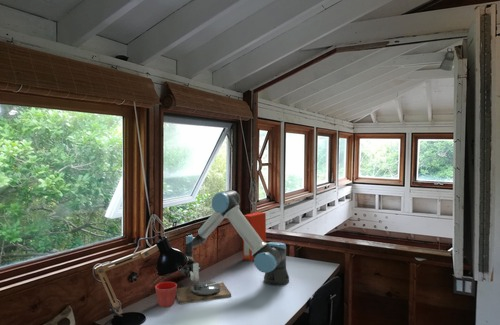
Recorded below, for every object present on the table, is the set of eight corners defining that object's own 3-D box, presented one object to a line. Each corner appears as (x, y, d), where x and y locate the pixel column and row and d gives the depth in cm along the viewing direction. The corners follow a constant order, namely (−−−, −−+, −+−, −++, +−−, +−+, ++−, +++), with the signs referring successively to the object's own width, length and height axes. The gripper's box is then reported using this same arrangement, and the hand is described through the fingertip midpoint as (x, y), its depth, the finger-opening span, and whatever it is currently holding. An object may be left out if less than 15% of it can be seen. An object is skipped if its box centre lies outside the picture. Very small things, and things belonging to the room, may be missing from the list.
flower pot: (172, 309, 183) (171, 289, 183) (151, 307, 185) (151, 288, 185) (180, 300, 193) (180, 282, 193) (161, 299, 195) (160, 281, 195)
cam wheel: (214, 281, 215) (214, 254, 215) (229, 290, 202) (229, 261, 202) (186, 289, 204) (185, 260, 204) (200, 298, 191) (199, 268, 191)
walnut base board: (223, 285, 215) (223, 282, 215) (231, 296, 198) (231, 293, 198) (174, 291, 206) (174, 288, 206) (178, 303, 189) (178, 300, 189)
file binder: (242, 259, 265) (242, 215, 264) (257, 253, 279) (257, 212, 277) (251, 261, 260) (251, 216, 259) (266, 255, 273) (265, 213, 272)
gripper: (198, 269, 224) (204, 283, 201) (177, 271, 220) (180, 285, 198) (198, 257, 223) (204, 269, 200) (177, 258, 220) (180, 271, 197)
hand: (192, 277), depth 199 cm, fingers closed
